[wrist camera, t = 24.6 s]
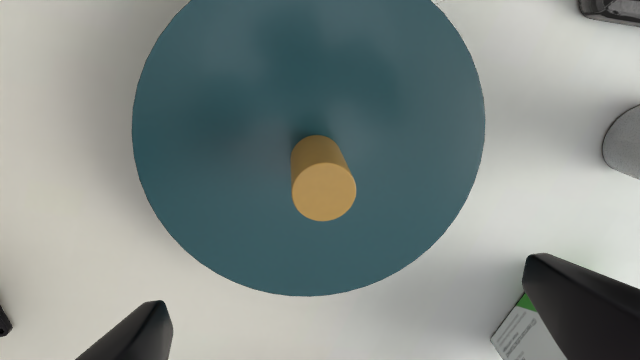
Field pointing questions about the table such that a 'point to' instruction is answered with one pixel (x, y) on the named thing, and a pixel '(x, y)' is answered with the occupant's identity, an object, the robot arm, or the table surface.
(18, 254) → the table surface
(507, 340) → the ink box
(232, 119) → the lid
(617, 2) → the phone
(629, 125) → the planter
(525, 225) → the table surface
